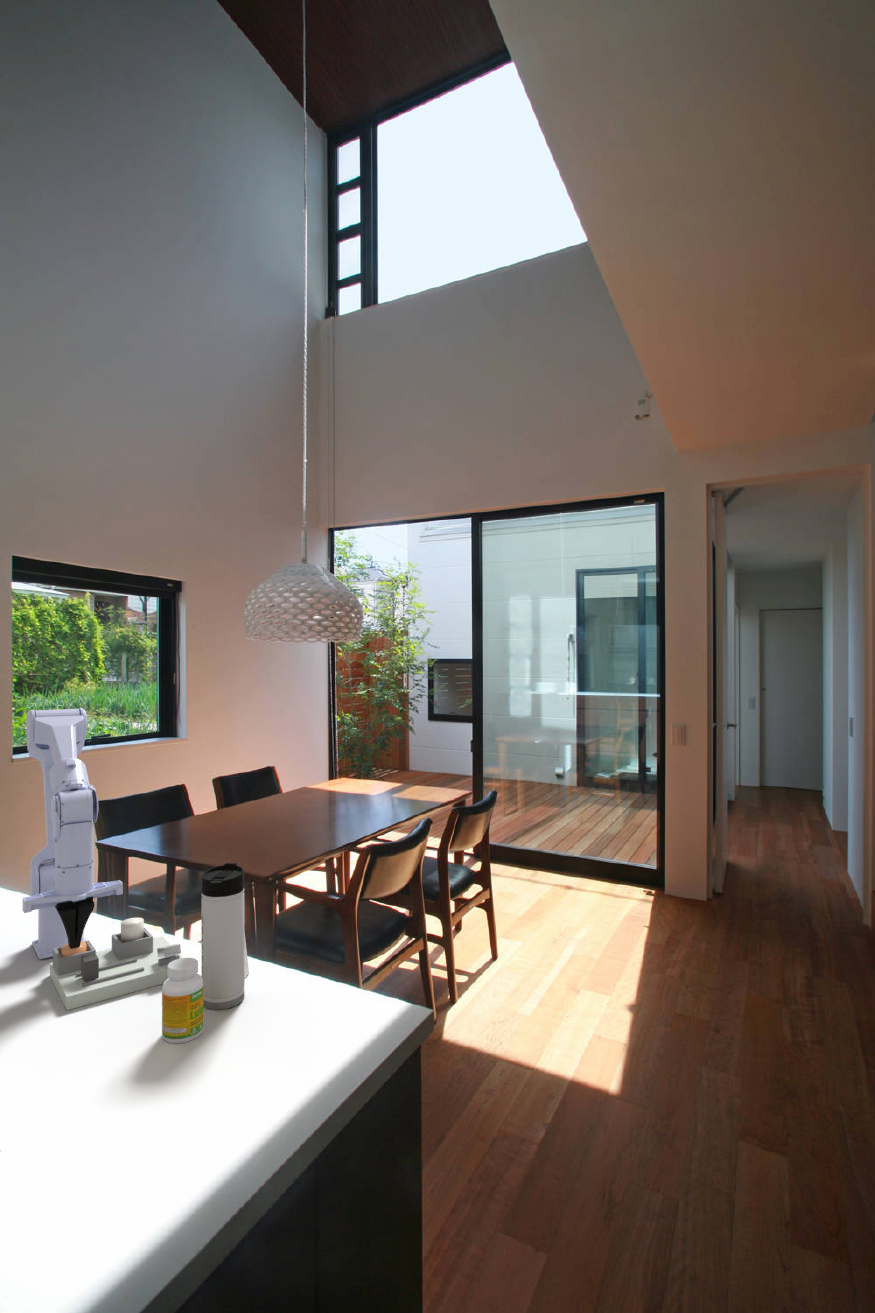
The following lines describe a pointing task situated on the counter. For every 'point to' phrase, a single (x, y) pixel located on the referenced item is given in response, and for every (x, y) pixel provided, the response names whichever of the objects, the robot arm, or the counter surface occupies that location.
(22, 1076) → the counter surface
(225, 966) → the travel mug
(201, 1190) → the counter surface
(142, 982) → the panel
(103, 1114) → the counter surface
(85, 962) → the slider knob
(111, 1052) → the counter surface
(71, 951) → the button orange
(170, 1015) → the supplement bottle
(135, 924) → the button white
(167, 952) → the rocker
